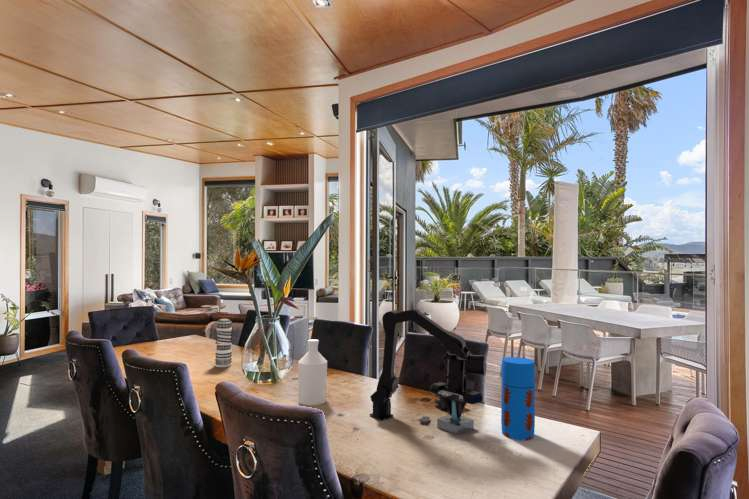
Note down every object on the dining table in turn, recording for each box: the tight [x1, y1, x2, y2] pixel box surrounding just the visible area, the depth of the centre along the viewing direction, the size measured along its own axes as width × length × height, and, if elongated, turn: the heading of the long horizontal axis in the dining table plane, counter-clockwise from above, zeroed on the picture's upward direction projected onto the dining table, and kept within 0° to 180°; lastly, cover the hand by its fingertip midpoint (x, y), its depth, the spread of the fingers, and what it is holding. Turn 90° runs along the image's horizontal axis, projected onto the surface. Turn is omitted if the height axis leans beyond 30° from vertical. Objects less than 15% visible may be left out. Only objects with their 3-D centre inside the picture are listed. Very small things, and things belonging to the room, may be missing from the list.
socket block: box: [436, 413, 475, 436], centre depth 159 cm, size 9×9×3 cm
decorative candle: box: [214, 318, 234, 368], centre depth 247 cm, size 9×9×25 cm
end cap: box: [434, 391, 460, 411], centre depth 181 cm, size 10×7×7 cm
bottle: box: [297, 338, 328, 406], centre depth 187 cm, size 12×12×25 cm
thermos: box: [500, 356, 536, 441], centre depth 154 cm, size 11×11×25 cm
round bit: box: [452, 400, 459, 421], centre depth 159 cm, size 3×3×7 cm
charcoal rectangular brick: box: [419, 415, 430, 425], centre depth 165 cm, size 5×2×2 cm, turn 162°
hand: (455, 417), depth 159 cm, fingers open, 3 cm apart
